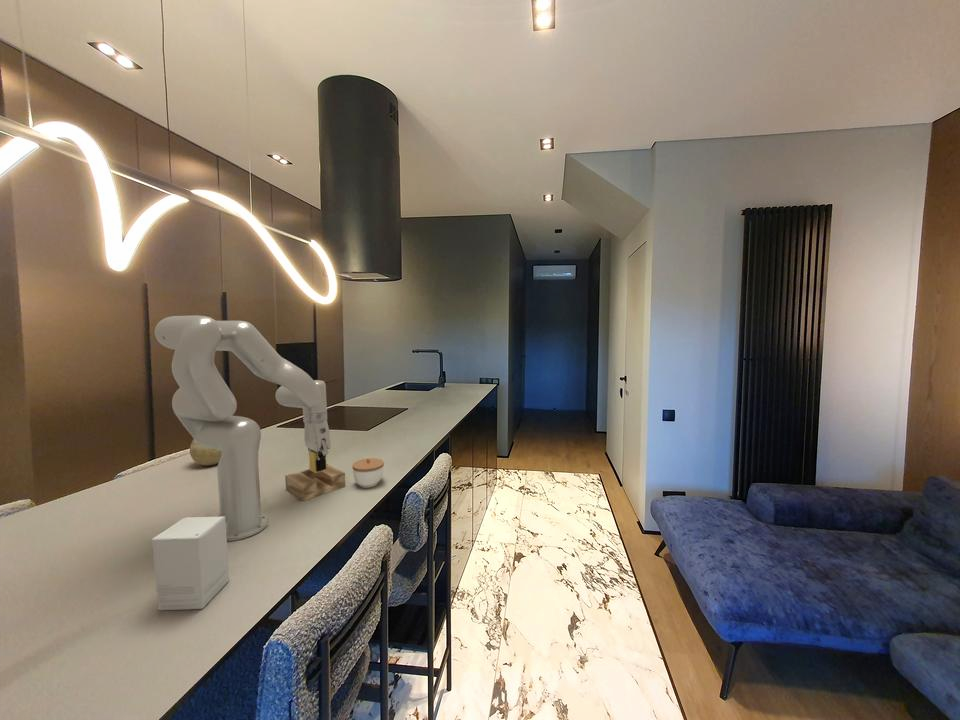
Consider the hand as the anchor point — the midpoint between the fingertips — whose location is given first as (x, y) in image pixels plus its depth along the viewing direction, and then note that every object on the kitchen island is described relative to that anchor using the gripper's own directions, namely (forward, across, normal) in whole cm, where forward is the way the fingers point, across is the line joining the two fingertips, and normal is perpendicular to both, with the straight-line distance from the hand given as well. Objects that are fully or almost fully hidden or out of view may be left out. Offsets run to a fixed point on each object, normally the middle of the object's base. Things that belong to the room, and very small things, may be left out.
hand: (318, 468), depth 130 cm
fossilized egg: (+8, +56, +18) cm, 60 cm away
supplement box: (+7, -32, +42) cm, 53 cm away
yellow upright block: (+1, 0, 0) cm, 1 cm away
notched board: (+7, +1, 0) cm, 8 cm away
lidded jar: (+8, -10, -14) cm, 18 cm away
